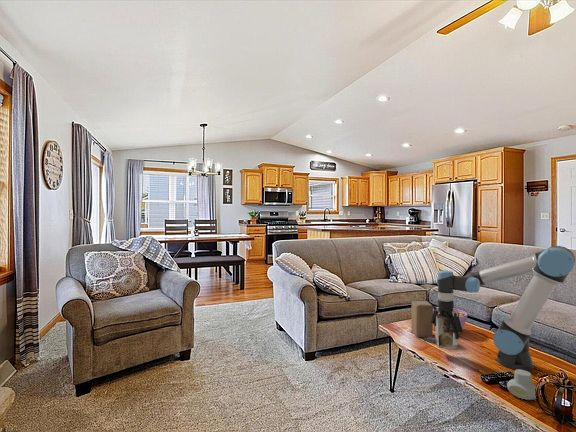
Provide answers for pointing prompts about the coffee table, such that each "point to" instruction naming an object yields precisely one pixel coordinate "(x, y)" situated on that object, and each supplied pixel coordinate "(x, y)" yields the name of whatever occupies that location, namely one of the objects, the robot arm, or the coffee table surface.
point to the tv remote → (430, 340)
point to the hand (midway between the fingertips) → (446, 341)
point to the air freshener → (522, 385)
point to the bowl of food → (460, 316)
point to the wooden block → (421, 319)
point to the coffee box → (444, 333)
